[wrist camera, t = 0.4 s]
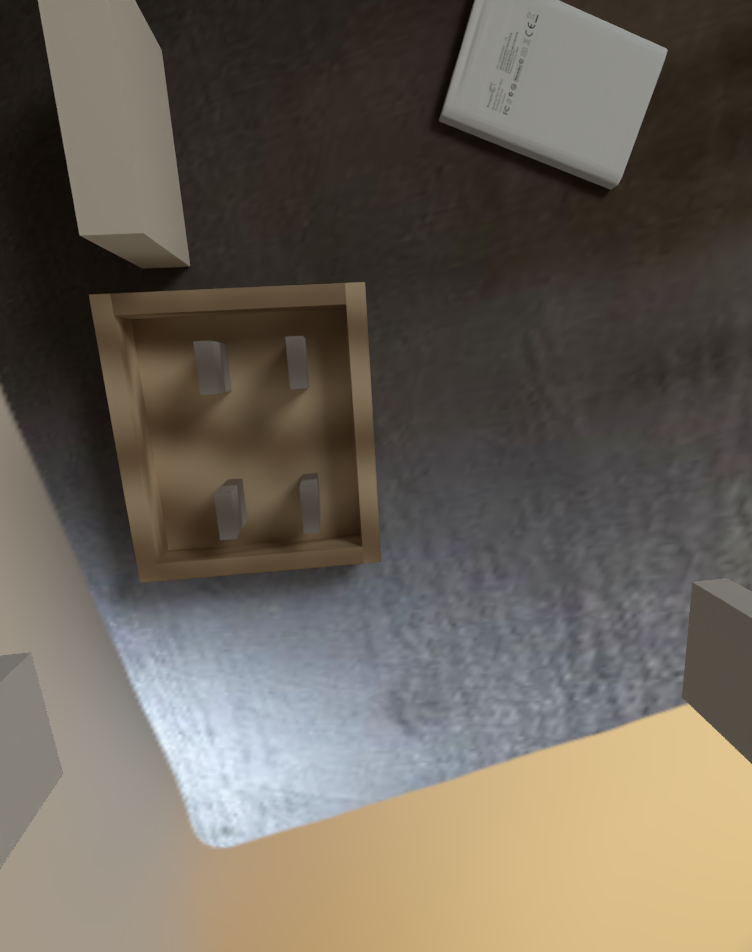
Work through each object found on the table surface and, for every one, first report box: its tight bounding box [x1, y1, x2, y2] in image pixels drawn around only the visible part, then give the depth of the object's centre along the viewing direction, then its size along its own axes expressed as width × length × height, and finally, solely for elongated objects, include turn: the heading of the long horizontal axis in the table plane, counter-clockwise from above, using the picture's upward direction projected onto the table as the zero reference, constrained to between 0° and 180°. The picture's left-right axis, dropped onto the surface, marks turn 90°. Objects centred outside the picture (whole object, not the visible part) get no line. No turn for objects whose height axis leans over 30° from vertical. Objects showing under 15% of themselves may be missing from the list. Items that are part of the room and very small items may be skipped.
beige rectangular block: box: [38, 0, 190, 269], centre depth 26 cm, size 12×3×8 cm, turn 3°
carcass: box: [89, 282, 381, 583], centre depth 31 cm, size 18×16×5 cm
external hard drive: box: [439, 0, 667, 190], centre depth 31 cm, size 2×8×12 cm
